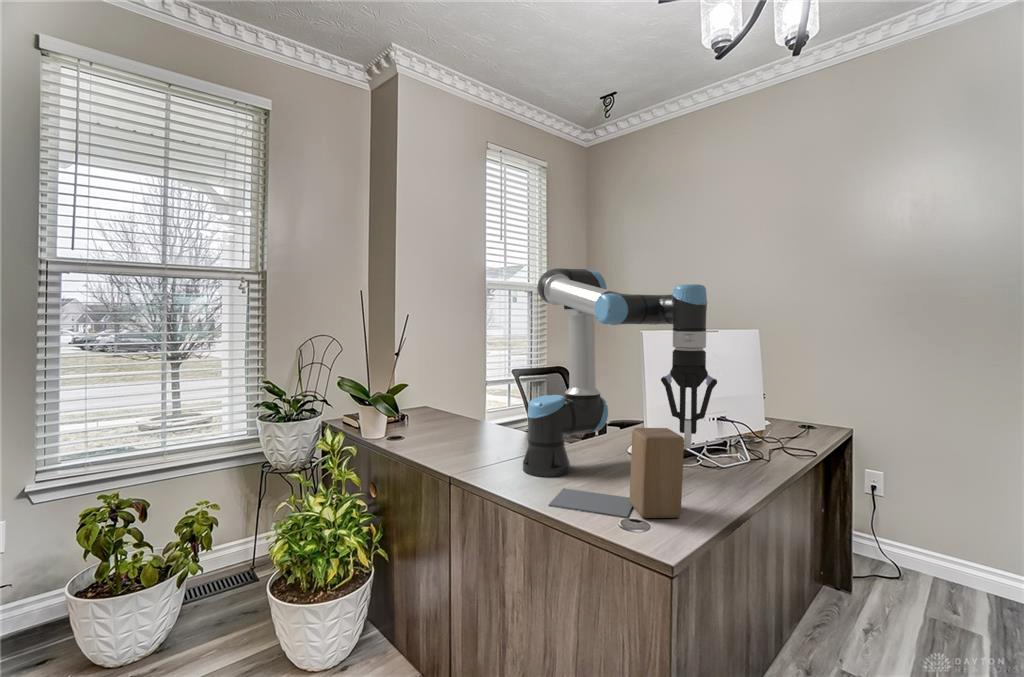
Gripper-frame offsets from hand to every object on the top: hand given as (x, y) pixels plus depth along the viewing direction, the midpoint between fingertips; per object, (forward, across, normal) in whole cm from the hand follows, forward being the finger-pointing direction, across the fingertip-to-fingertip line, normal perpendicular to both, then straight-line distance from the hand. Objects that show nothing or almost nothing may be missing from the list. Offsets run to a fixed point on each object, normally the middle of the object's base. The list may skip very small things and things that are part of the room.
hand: (687, 446), depth 116 cm
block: (+17, -8, 0) cm, 19 cm away
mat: (+17, -23, 0) cm, 29 cm away
